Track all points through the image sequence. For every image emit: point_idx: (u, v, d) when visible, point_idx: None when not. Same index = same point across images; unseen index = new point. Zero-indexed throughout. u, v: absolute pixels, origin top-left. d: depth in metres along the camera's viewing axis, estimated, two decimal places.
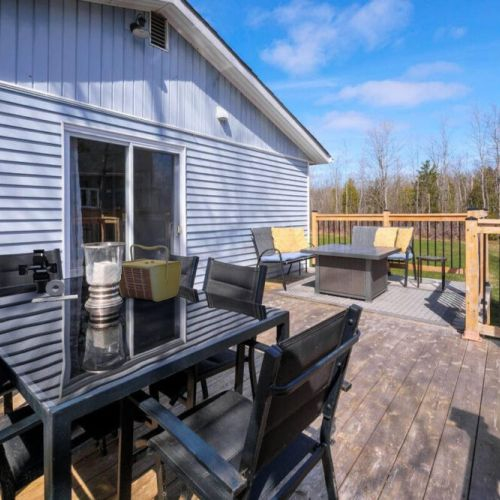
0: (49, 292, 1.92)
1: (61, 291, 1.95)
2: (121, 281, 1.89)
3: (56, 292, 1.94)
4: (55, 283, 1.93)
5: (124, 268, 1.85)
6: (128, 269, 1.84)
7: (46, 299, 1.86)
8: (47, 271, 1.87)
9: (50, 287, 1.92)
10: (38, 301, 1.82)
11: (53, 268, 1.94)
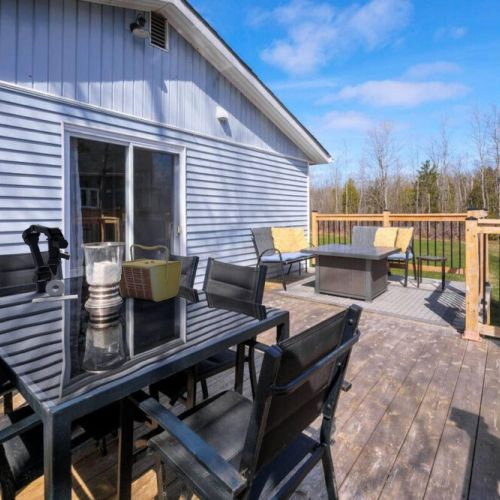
0: (49, 292, 1.92)
1: (61, 291, 1.95)
2: (121, 281, 1.89)
3: (56, 292, 1.94)
4: (55, 283, 1.93)
5: (124, 268, 1.85)
6: (128, 269, 1.84)
7: (46, 299, 1.86)
8: None
9: (50, 287, 1.92)
10: (38, 301, 1.82)
11: None
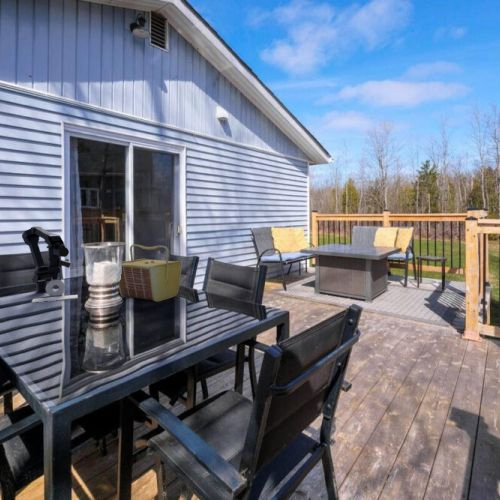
0: (49, 292, 1.92)
1: (61, 291, 1.95)
2: (121, 281, 1.89)
3: (56, 292, 1.94)
4: (55, 283, 1.93)
5: (124, 268, 1.85)
6: (128, 269, 1.84)
7: (46, 299, 1.86)
8: None
9: (50, 287, 1.92)
10: (38, 301, 1.82)
11: None
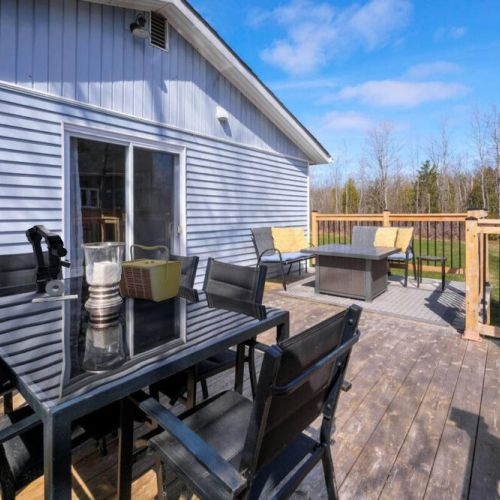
0: (49, 292, 1.92)
1: (61, 291, 1.95)
2: (121, 281, 1.89)
3: (56, 292, 1.94)
4: (55, 283, 1.93)
5: (124, 268, 1.85)
6: (128, 269, 1.84)
7: (46, 299, 1.86)
8: None
9: (50, 287, 1.92)
10: (38, 301, 1.82)
11: None
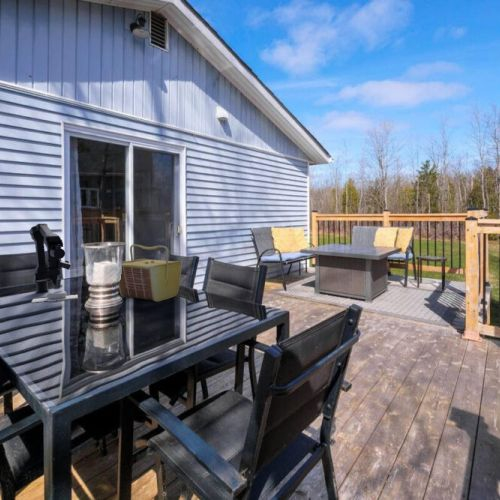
0: None
1: None
2: (121, 281, 1.89)
3: None
4: None
5: (124, 268, 1.85)
6: (128, 269, 1.84)
7: (46, 299, 1.86)
8: (53, 283, 1.91)
9: None
10: (38, 301, 1.82)
11: None
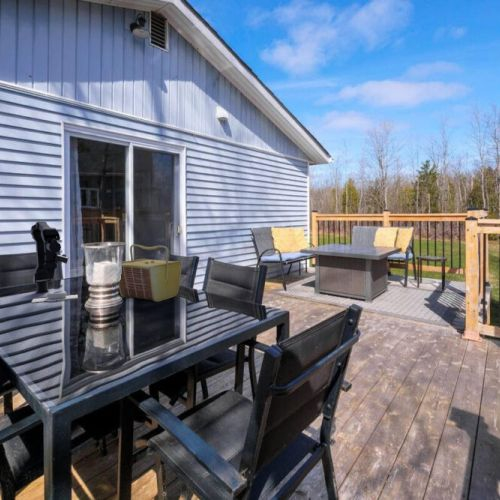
0: None
1: None
2: (121, 281, 1.89)
3: None
4: None
5: (124, 268, 1.85)
6: (128, 269, 1.84)
7: (46, 299, 1.86)
8: (50, 277, 1.88)
9: None
10: (38, 301, 1.82)
11: None
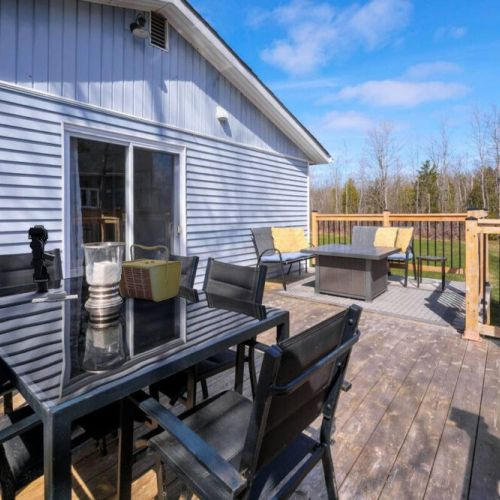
0: None
1: None
2: (121, 281, 1.89)
3: None
4: None
5: (124, 268, 1.85)
6: (128, 269, 1.84)
7: (46, 299, 1.86)
8: (37, 275, 1.95)
9: None
10: (38, 301, 1.82)
11: None
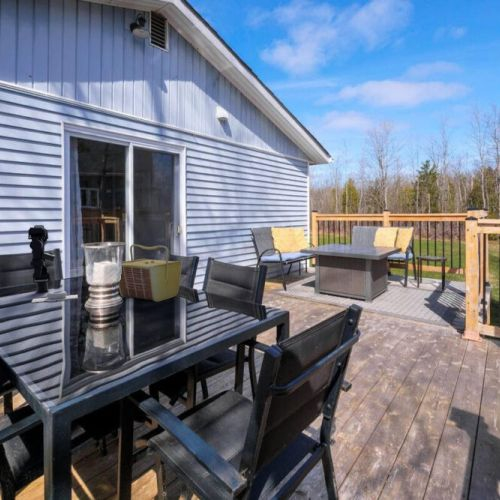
0: None
1: None
2: (121, 281, 1.89)
3: None
4: None
5: (124, 268, 1.85)
6: (128, 269, 1.84)
7: (46, 299, 1.86)
8: (37, 275, 1.95)
9: None
10: (38, 301, 1.82)
11: None
